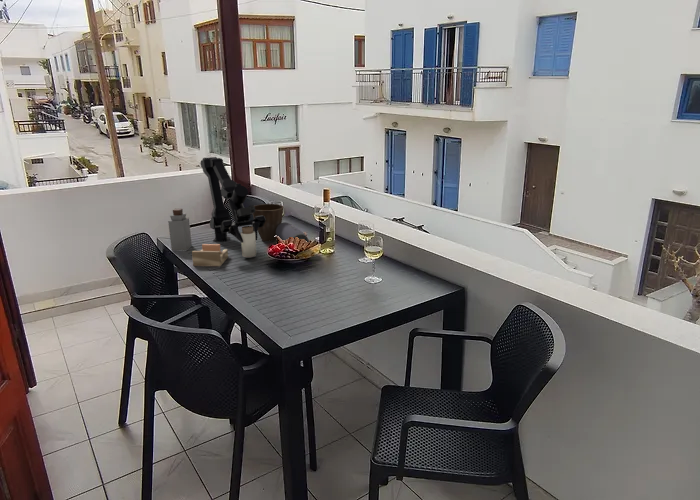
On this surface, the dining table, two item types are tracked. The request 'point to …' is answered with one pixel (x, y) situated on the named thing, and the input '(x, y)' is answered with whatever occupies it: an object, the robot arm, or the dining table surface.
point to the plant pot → (269, 220)
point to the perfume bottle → (179, 231)
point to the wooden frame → (209, 257)
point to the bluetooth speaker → (289, 232)
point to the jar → (248, 242)
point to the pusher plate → (211, 247)
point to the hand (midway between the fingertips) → (249, 240)
